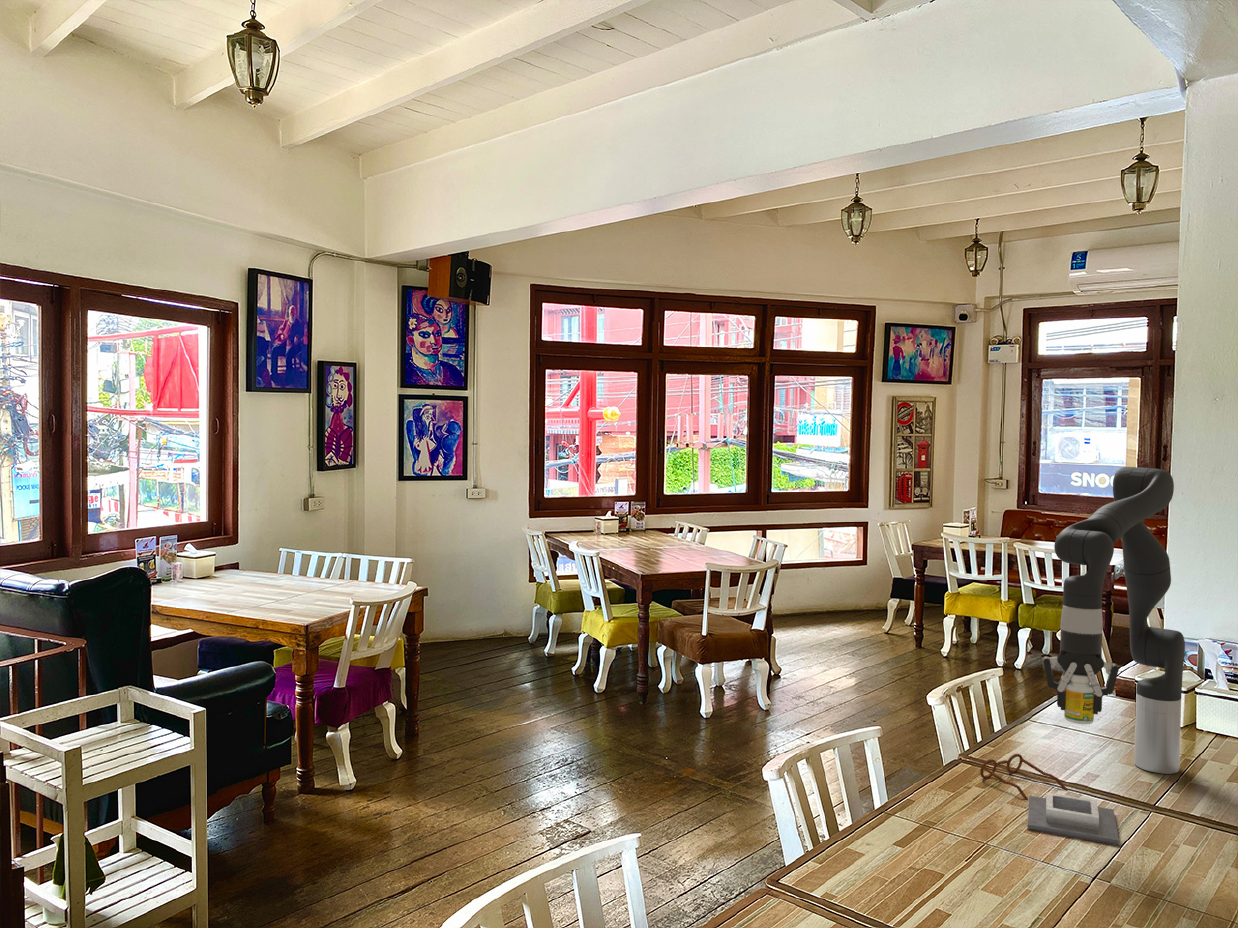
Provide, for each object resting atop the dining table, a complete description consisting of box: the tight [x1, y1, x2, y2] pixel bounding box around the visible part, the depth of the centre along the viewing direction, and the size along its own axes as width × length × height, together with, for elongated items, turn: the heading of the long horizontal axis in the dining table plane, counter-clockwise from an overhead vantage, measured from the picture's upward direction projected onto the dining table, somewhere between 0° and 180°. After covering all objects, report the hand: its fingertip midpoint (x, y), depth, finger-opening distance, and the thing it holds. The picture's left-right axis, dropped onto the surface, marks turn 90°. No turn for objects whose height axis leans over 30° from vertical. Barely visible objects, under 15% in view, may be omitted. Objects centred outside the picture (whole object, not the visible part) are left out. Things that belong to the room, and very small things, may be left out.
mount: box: [1027, 792, 1120, 846], centre depth 184 cm, size 16×16×4 cm
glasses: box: [979, 753, 1069, 801], centre depth 203 cm, size 13×13×5 cm
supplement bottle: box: [1063, 674, 1095, 725], centre depth 183 cm, size 5×5×10 cm
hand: (1078, 710), depth 183 cm, fingers closed on supplement bottle, 5 cm apart
